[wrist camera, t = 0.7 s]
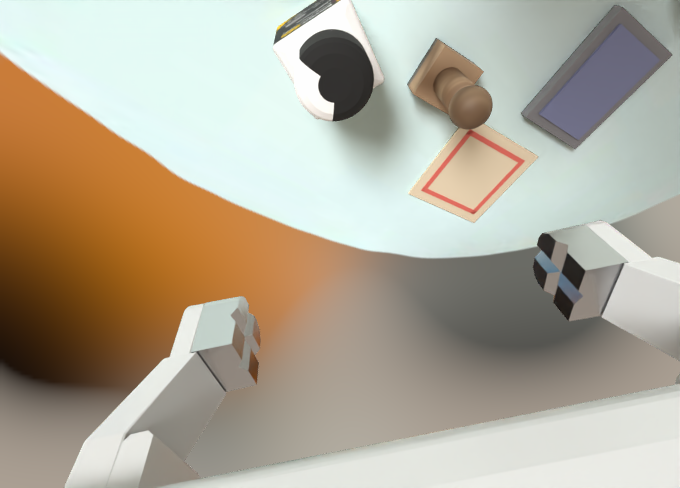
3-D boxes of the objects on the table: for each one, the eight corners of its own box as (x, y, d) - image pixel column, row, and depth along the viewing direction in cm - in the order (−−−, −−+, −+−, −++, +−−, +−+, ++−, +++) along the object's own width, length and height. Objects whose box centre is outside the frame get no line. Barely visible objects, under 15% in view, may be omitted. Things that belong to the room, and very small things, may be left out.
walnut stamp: (436, 37, 35) (476, 73, 27) (473, 62, 37) (520, 103, 29) (407, 84, 38) (435, 129, 30) (442, 105, 40) (478, 152, 32)
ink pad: (614, 5, 35) (625, 7, 34) (664, 51, 38) (674, 55, 37) (521, 113, 42) (526, 118, 40) (569, 144, 45) (576, 150, 44)
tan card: (468, 114, 41) (469, 115, 41) (537, 155, 46) (538, 157, 45) (408, 192, 48) (408, 194, 48) (473, 221, 52) (474, 223, 52)
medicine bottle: (341, -18, 32) (356, 8, 23) (374, 58, 36) (397, 103, 28) (275, 27, 34) (266, 66, 25) (314, 94, 38) (318, 146, 29)
